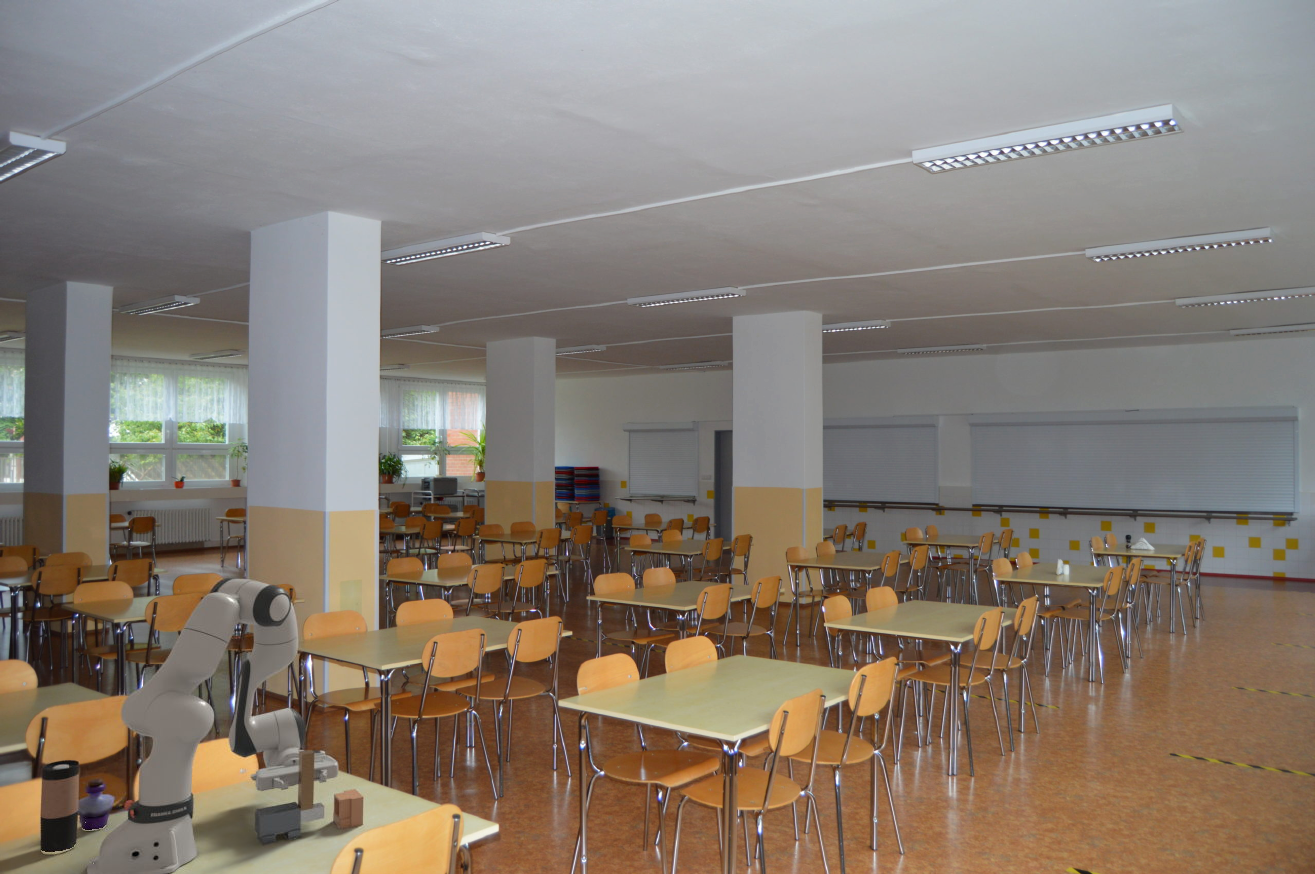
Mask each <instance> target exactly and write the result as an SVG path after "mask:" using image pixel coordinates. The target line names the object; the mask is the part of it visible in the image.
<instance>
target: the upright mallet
mask: <svg viewBox="0 0 1315 874" xmlns="http://www.w3.org/2000/svg"><path fill="white" fill-rule="evenodd" d="M313 751H314V750H312V749H307V750H304V751H299V778H298V784H297V786H298V787H297V789H298V790H297V804H298V805H299V806H300V808H301V824H303V823H307V822H308V823H309V822H311V821H316V820H321V819H325V805H324V804H323V803H322V802H318V803H314V798H315V797H314V795H315V794H314V793H315V791H314V789H315V781H314V752H313Z"/></svg>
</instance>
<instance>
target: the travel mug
mask: <svg viewBox="0 0 1315 874" xmlns="http://www.w3.org/2000/svg"><path fill="white" fill-rule="evenodd" d="M41 768H42V769H41V771H42V772H41V791H40V792H41V795H40V817H39V818H40V820H39V821H40V822H39V823H40V851H41V850H42V851H45V852H55V851H63V850H66V849H70V848H72V847H74V845H75V844H76V845H77V837H78V821H79V815H78V801H79V800H80V799H79V797H80V796H79V792H80V791H79V789H80V788H79V787H80V782H79V781H80V762H79V761H78V760H75V759H65V760H57V761H53V762H50V763H47V764H45V765H43V766H42V767H41Z"/></svg>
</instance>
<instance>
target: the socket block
mask: <svg viewBox="0 0 1315 874" xmlns="http://www.w3.org/2000/svg"><path fill="white" fill-rule="evenodd" d="M332 815H333V816H332V817H333V818H332V821H333V823H334V824H335V825H336V826H337V828H339V829H340V830H341V829H346V828H354V827H358V826H362V825H363V826H364V796H363V795H362V794H361V793H360V792H359V791H358V790H357V789H356V788H353V789H349V790H348V789H347V790H344V791H343V792H339V793H334V794H333V813H332Z"/></svg>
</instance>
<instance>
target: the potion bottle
mask: <svg viewBox="0 0 1315 874" xmlns="http://www.w3.org/2000/svg"><path fill="white" fill-rule="evenodd" d="M106 785H107V784H106V783H105V782H104V779H103V778H93V779H90V780H88V781H87V785H86V786H85V788H84V792H85V793H86V794H88V796H87V797H84V798H83V797H82V798H80V799H79V800H78V819H79V822H80V825H81V829H82V828H83V829H85V830H92V829H99V828H103V827H104V826H105V825H107V826H108V820H109V817H110V814H111V811H112V809H113V806H114V802H115V796H113V795H111V794H108V793H107V794H103V792H104V791H105V790H106ZM85 822H86V823H85Z"/></svg>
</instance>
